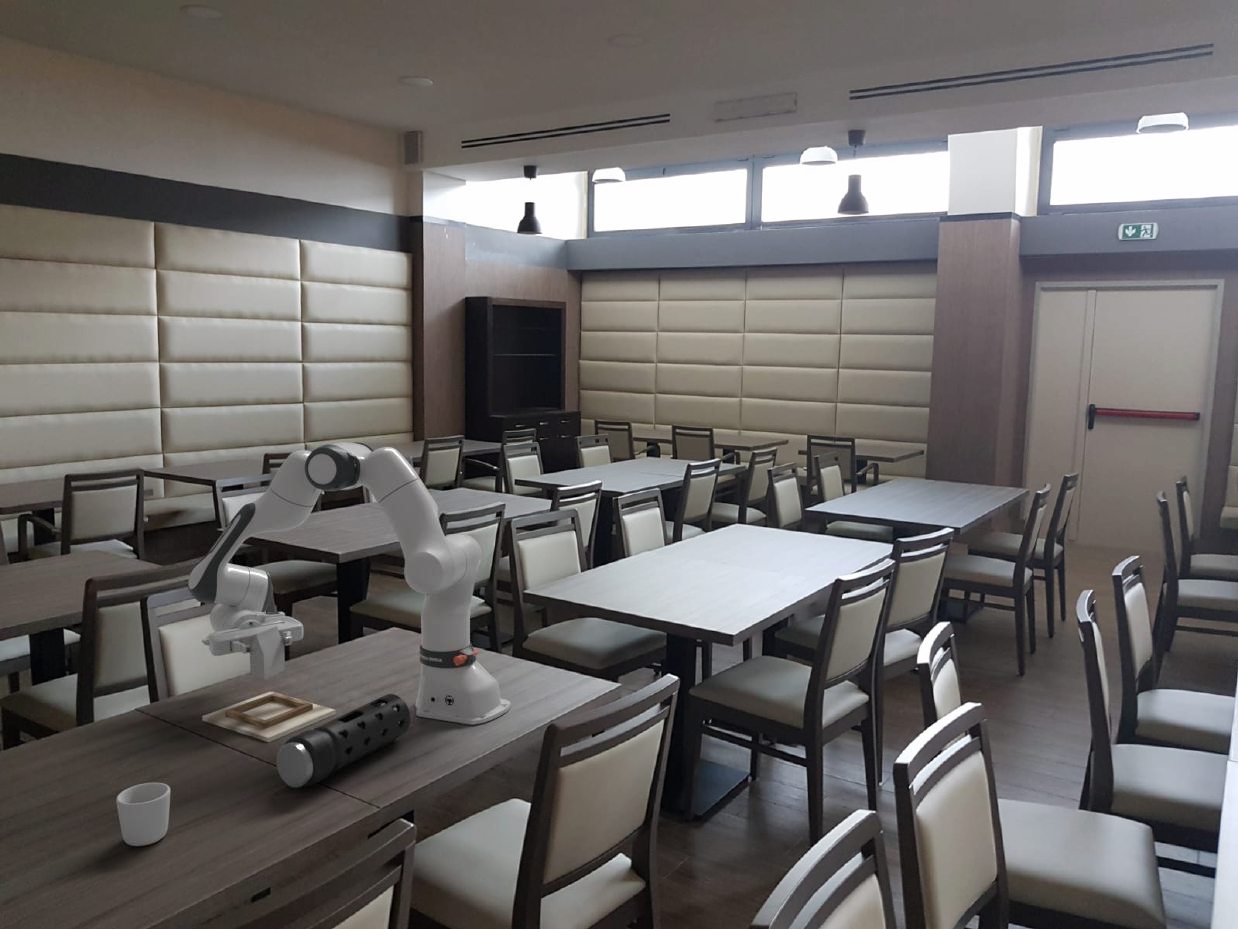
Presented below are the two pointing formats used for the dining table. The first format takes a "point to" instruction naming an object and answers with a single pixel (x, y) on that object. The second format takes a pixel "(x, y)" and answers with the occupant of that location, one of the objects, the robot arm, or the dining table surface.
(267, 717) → the holder
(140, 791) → the cup
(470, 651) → the robot arm
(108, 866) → the dining table surface
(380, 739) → the muzzle brake
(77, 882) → the dining table surface
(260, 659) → the tea bag
